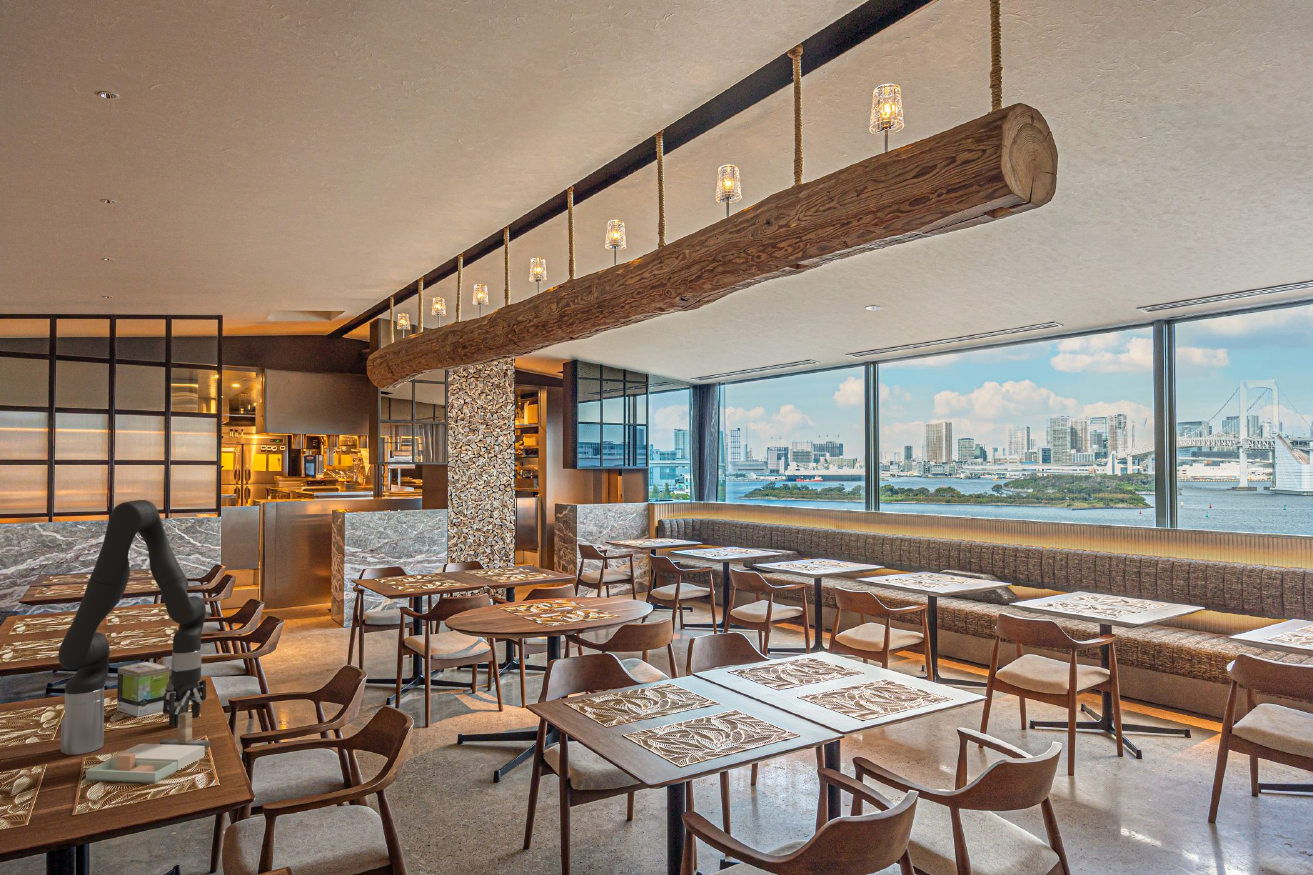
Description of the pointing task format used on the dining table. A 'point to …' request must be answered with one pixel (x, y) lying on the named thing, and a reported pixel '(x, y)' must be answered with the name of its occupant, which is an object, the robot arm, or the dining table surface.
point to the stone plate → (167, 753)
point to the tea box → (142, 688)
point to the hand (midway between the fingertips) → (184, 721)
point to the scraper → (185, 733)
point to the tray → (131, 772)
